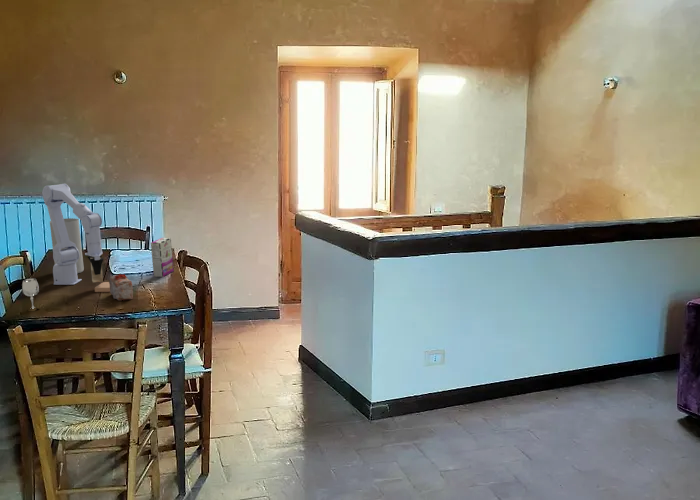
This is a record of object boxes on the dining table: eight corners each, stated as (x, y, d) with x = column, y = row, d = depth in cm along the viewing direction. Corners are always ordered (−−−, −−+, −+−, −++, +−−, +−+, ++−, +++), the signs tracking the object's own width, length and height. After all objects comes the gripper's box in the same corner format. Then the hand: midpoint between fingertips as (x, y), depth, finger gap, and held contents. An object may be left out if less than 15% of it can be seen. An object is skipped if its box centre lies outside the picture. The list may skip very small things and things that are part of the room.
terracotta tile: (94, 287, 281) (110, 287, 281) (103, 282, 290) (119, 282, 290) (95, 292, 282) (111, 292, 281) (103, 287, 291) (119, 287, 290)
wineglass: (28, 308, 260) (24, 278, 258) (43, 307, 261) (40, 277, 258) (22, 312, 255) (18, 282, 252) (38, 311, 255) (34, 281, 253)
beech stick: (93, 282, 283) (91, 259, 281) (92, 280, 286) (90, 257, 284) (103, 281, 284) (101, 258, 282) (101, 279, 288) (100, 256, 286)
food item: (136, 299, 270) (134, 276, 267) (116, 303, 265) (113, 279, 263) (126, 292, 281) (124, 269, 278) (107, 295, 276) (104, 272, 274)
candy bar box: (164, 271, 315) (161, 237, 312) (174, 271, 314) (171, 237, 311) (152, 277, 304) (150, 242, 301) (162, 277, 303) (160, 242, 300)
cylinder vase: (77, 275, 310) (71, 222, 304) (50, 275, 310) (44, 223, 305) (88, 268, 322) (82, 218, 317) (62, 269, 322) (57, 218, 317)
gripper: (82, 240, 286) (85, 270, 289) (85, 246, 274) (89, 278, 277) (99, 238, 289) (102, 268, 292) (103, 244, 277) (106, 276, 280)
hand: (97, 273), depth 285 cm, fingers closed on beech stick, 4 cm apart
